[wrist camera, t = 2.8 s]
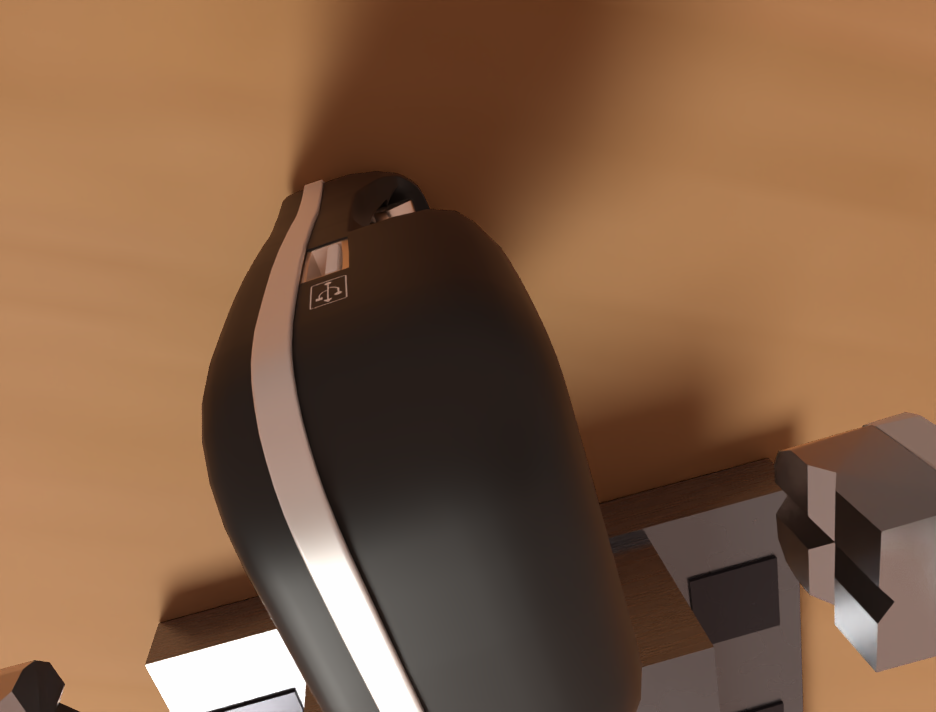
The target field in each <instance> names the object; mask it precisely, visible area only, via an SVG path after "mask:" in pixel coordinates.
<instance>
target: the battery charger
mask: <svg viewBox="0 0 936 712" xmlns="http://www.w3.org/2000/svg"><path fill="white" fill-rule="evenodd" d="M202 444H203V449H204V455H205V460H206V466H207V471H208V477H209V482H210V486H211V489H212V492H213V495H214V498H215V501H216V504H217V507H218V510H219V513H220V516H221V519H222V522H223V525H224V528H225V530H226V532H227V534H228V536H229V538H230V540H231V542H232V545H233V547H234V549H235V551H236V553H237V555H238V557H239V559H240V561H241V563H242V566H243V568H244V570H245V572H246V574H247V575H248V577H249V579H250V581H251V583H252V585H253V587H254V588H255V590H256V592H257V594H258V596H259V598H260V599H261V601H262V603H263V605H264V607H265V609H266V610H267V612H268V614H269V616H270V618H271V620H272V621H273V623H274V625H275V627H276V629H277V631H278V633H279V634H280V636H281V638H282V640H283V642H284V644H285V645H286V647H287V649H288V651H289V653H290V655H291V656H292V658H293V660H294V662H295V664H296V666H297V667H298V669H299V671H300V673H301V675H302V677H303V678H304V680H305V682H306V684H307V686H308V688H309V689H310V691H311V693H312V695H313V696H314V698H315V700H316V702H317V703H318V705H319V707H320V708H321V710H322V712H636V711H637V709H638V706H639V703H640V701H641V681H642V663H641V658H640V654H639V650H638V645H637V641H636V637H635V633H634V630H633V626H632V622H631V619H630V615H629V611H628V608H627V604H626V600H625V597H624V593H623V589H622V586H621V582H620V578H619V575H618V571H617V567H616V563H615V560H614V556H613V552H612V549H611V545H610V541H609V538H608V534H607V530H606V527H605V523H604V520H603V516H602V512H601V509H600V505H599V502H598V498H597V494H596V491H595V487H594V484H593V480H592V476H591V473H590V469H589V466H588V462H587V458H586V455H585V451H584V447H583V444H582V440H581V437H580V433H579V429H578V426H577V422H576V419H575V415H574V411H573V408H572V404H571V401H570V397H569V394H568V390H567V387H566V384H565V380H564V377H563V374H562V371H561V368H560V365H559V362H558V359H557V356H556V354H555V351H554V349H553V346H552V344H551V341H550V339H549V337H548V334H547V332H546V330H545V327H544V325H543V323H542V321H541V319H540V317H539V314H538V312H537V310H536V308H535V306H534V304H533V302H532V300H531V298H530V296H529V294H528V293H527V291H526V289H525V287H524V285H523V283H522V281H521V279H520V278H519V276H518V274H517V272H516V271H515V269H514V267H513V266H512V264H511V262H510V261H509V259H508V258H507V256H506V255H505V253H504V252H503V250H502V249H501V247H500V246H499V245H498V244H497V243H496V242H495V241H493V240H492V239H491V238H490V237H489V236H488V235H487V234H486V233H485V232H484V231H483V230H482V229H481V228H480V227H478V225H477V224H476V223H475V222H473V221H472V220H470V219H468V218H467V217H465V216H463V215H462V214H460V213H458V212H457V211H450V210H434V209H430V208H429V206H428V204H427V202H426V199H425V197H424V195H423V193H422V191H421V190H420V189H419V187H418V186H417V185H416V184H415V183H414V182H412V181H411V180H410V179H408V178H406V177H404V176H403V175H400V174H396V173H391V172H379V171H373V172H366V173H356V174H350V175H347V176H344V177H341V178H338V179H335V180H332V181H329V182H326V183H324V181H323V180H319V181H316V182H313V183H310V184H307V185H305V186H304V190H302V191H299V192H296V193H294V194H292V195H290V196H288V197H286V199H285V200H284V201H283V202H282V206H281V209H280V213H279V216H278V218H277V221H276V223H275V226H274V229H273V231H272V233H271V235H270V237H269V239H268V240H267V241H266V243H265V244H264V246H263V247H262V249H261V250H260V252H259V254H258V255H257V257H256V259H255V260H254V262H253V264H252V266H251V267H250V269H249V271H248V273H247V274H246V276H245V278H244V280H243V282H242V284H241V286H240V288H239V290H238V293H237V295H236V297H235V299H234V302H233V304H232V306H231V309H230V311H229V314H228V316H227V319H226V321H225V324H224V327H223V329H222V332H221V334H220V337H219V340H218V343H217V345H216V348H215V351H214V354H213V357H212V359H211V362H210V366H209V371H208V376H207V381H206V386H205V391H204V396H203V402H202Z"/></svg>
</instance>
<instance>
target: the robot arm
mask: <svg viewBox="0 0 936 712" xmlns="http://www.w3.org/2000/svg"><path fill="white" fill-rule="evenodd" d="M774 472H775V483H776V484H777V485H778V486H779V487H780V488H781V489H782V490H783V491H784V492H785V493H786V494H787V497H786V498H785V500H784V502H783V503H782V505H781V507H780V508H779V510H778V511H777V513H776V521H777V533H778V540H779V543H780V545H781V548H782V551H783V554H784V557H785V560H786V562H787V564H788V566H789V567H790V569H791V571H792V572H793V574H794V576H795V577H796V579H797V580H798V581H799V583H800V584H801V585H802V586H803V587H804V589H805V590H806V591H807V592H808V593H809V595H812V596H814V597H816V598H819V599H821V600H824V601H826V602H829V603H831V604H833V605H835V625H836V626H837V628H838V629H839V630H840V631H841V632H842V633H843V635H844V636H845V637H846V638H847V639H848V640H849V641H850V643H851V644H852V645H853V646H854V647H855V648H856V650H857V651H858V652H859V653H860V654H861V655H862V657H863V658H864V659H865V660H866V661H867V662H868V663H869V665H870V666H871V667H872V668H873V669H874V670H875V672H880V671H883V670H887V669H891V668H894V667H898V666H902V665H905V664H909V663H913V662H916V661H920V660H924V659H927V658H931V657H935V656H936V425H935V424H933V423H931V422H930V421H928V420H927V419H925V418H924V417H922V416H920V415H917V414H912V413H907V412H904V413H901V414H898V415H895V416H891V417H888V418H885V419H882V420H878V421H875V422H872V423H869V424H866V425H863V426H862V427H861V428H857V429H853V430H850V431H846V432H843V433H839V434H836V435H832V436H829V437H825V438H822V439H818V440H815V441H812V442H808V443H805V444H801V445H798V446H794V447H791V448H787V449H784V450H780V451H778V454H777V457H776V460H775V463H774ZM64 686H65V684H64V682H63V681H62V679H61V678H60V677H59V675H58V674H57V672H56V671H55V669H54V668H53V667H52V665H51V664H50V662H43V661H36V660H34V661H30V662H26V663H22V664H18V665H14V666H11V667H7V668H3V669H0V712H79V711H77V710H75V709H72V708H70V707H68V706H66V705H63V704H61V703H60V699H61V696H62V693H63V689H64Z"/></svg>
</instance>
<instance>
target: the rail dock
mask: <svg viewBox="0 0 936 712" xmlns="http://www.w3.org/2000/svg"><path fill="white" fill-rule="evenodd" d="M786 497H787V494H786V493H785V492H784V491H783V490H782V489H781V488H780V487H779V486H778V485H777V484H776V483H775V472H774V463H773V462H772V461H771V460H770V459H769V458H767V459H763V460H759V461H756V462H752V463H748V464H745V465H741V466H737V467H734V468H730V469H726V470H723V471H719V472H715V473H712V474H708V475H704V476H700V477H697V478H693V479H689V480H686V481H682V482H678V483H675V484H671V485H667V486H664V487H660V488H656V489H653V490H649V491H645V492H642V493H638V494H634V495H631V496H627V497H623V498H619V499H616V500H612V501H608V502H605V503H601V504H599V505H600V509H601V512H602V516H603V520H604V523H605V527H606V530H607V534H608V538H609V541H610V545H611V549H612V552H613V556H614V560H615V563H616V567H617V571H618V575H619V578H620V582H621V586H622V589H623V593H624V597H625V600H626V604H627V608H628V611H629V615H630V619H631V622H632V626H633V630H634V633H635V637H636V641H637V645H638V650H639V654H640V658H641V663H642V681H641V701H640V703H639V706H638V709H637V711H636V712H803V690H802V655H801V620H800V585H799V581H798V580H797V579H796V577H795V576H794V574H793V572H792V571H791V569H790V567H789V566H788V564H787V562H786V560H785V557H784V554H783V551H782V548H781V545H780V543H779V540H778V533H777V521H776V513H777V511H778V510H779V508H780V507H781V505H782V503H783V502H784V500H785V498H786ZM145 666H146V668H147V670H148V671H149V673H150V675H151V677H152V679H153V680H154V682H155V684H156V686H157V688H158V690H159V691H160V693H161V695H162V697H163V699H164V700H165V702H166V704H167V706H168V708H169V710H170V711H171V712H322V710H321V708H320V707H319V705H318V703H317V702H316V700H315V698H314V696H313V695H312V693H311V691H310V689H309V688H308V686H307V684H306V682H305V680H304V678H303V677H302V675H301V673H300V671H299V669H298V667H297V666H296V664H295V662H294V660H293V658H292V656H291V655H290V653H289V651H288V649H287V647H286V645H285V644H284V642H283V640H282V638H281V636H280V634H279V633H278V631H277V629H276V627H275V625H274V623H273V621H272V620H271V618H270V616H269V614H268V612H267V610H266V609H265V607H264V605H263V603H262V601H261V599H260V598H259V597H255V598H251V599H248V600H244V601H240V602H237V603H233V604H229V605H226V606H222V607H218V608H215V609H211V610H207V611H203V612H200V613H196V614H192V615H189V616H185V617H181V618H178V619H174V620H170V621H167V622H163V623H159V624H158V627H157V630H156V633H155V636H154V640H153V643H152V646H151V649H150V652H149V655H148V658H147V661H146V664H145Z"/></svg>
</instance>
